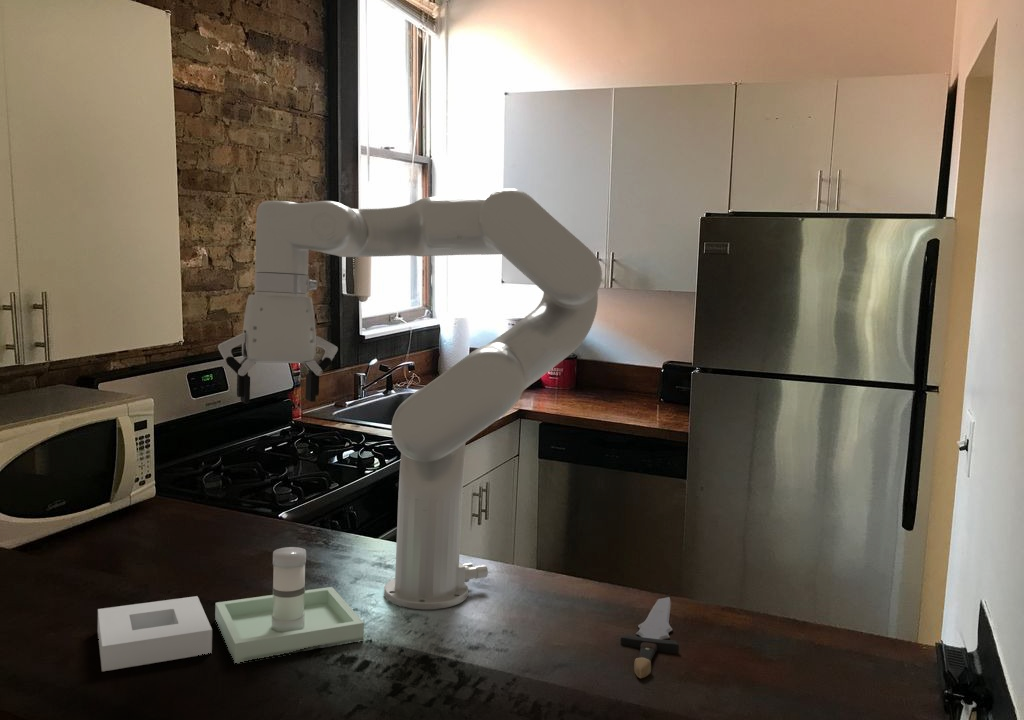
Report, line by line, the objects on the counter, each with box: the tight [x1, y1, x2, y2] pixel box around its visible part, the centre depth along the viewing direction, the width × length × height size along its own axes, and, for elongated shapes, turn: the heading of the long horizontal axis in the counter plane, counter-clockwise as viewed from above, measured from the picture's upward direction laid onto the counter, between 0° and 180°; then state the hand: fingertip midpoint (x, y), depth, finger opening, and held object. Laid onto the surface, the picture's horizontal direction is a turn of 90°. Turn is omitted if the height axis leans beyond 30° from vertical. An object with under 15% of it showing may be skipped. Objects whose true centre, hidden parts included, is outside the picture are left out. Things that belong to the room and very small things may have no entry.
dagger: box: [620, 596, 680, 679], centre depth 112 cm, size 8×32×2 cm, turn 171°
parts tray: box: [214, 586, 365, 664], centre depth 106 cm, size 16×14×2 cm
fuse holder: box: [97, 595, 213, 672], centre depth 100 cm, size 12×12×3 cm
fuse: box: [272, 546, 307, 632], centre depth 105 cm, size 4×4×10 cm
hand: (278, 401), depth 119 cm, fingers open, 9 cm apart
